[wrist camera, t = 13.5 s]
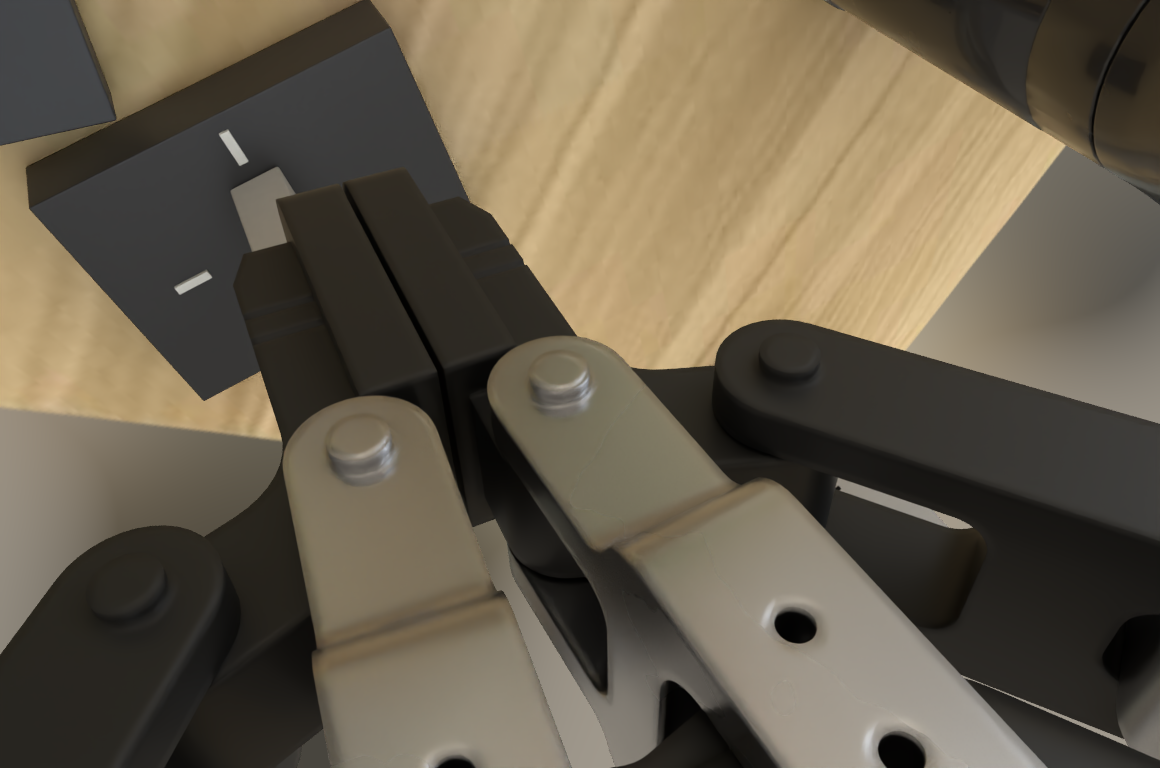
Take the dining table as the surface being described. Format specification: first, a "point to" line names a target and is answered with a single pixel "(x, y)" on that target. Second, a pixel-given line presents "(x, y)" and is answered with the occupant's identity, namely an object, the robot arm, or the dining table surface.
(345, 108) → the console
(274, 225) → the grey block
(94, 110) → the red button base
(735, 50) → the dining table surface
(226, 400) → the dining table surface
